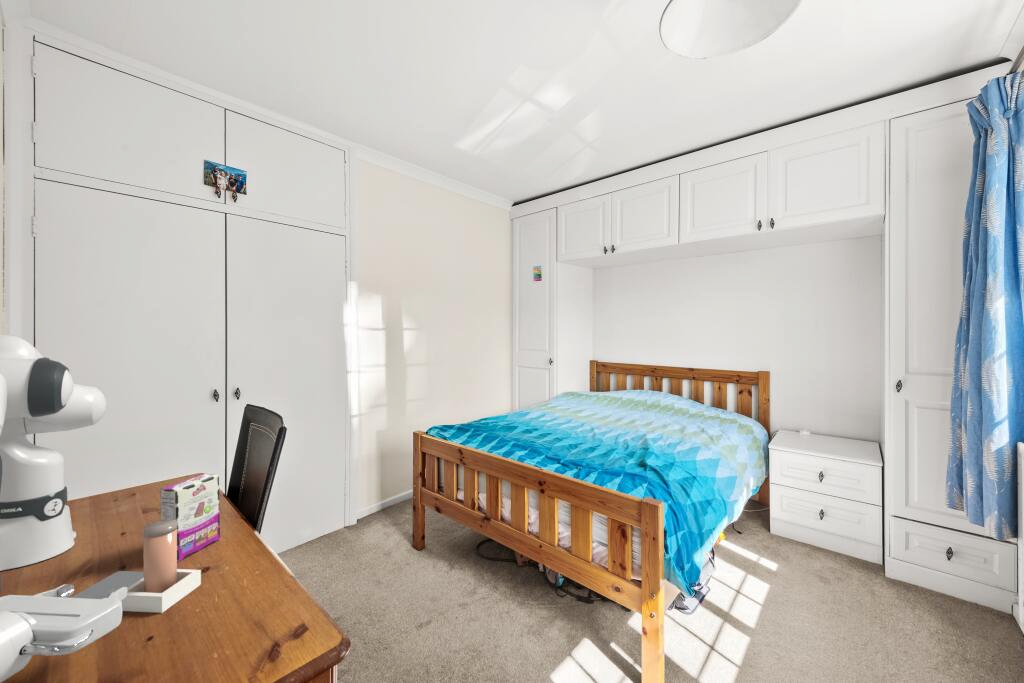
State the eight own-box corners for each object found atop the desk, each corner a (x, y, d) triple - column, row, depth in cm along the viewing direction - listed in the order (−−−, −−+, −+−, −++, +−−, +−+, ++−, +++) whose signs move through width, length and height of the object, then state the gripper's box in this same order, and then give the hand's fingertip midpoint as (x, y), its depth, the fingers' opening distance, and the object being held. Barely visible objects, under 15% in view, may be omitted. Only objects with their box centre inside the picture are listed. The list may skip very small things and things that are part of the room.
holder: (116, 610, 79) (116, 594, 79) (159, 582, 88) (159, 568, 88) (162, 612, 78) (162, 596, 78) (200, 584, 87) (200, 569, 87)
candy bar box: (204, 537, 108) (204, 472, 107) (220, 539, 107) (220, 474, 106) (159, 560, 97) (159, 488, 96) (177, 562, 96) (177, 490, 95)
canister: (135, 604, 81) (135, 531, 80) (159, 588, 86) (159, 519, 86) (161, 605, 80) (161, 532, 80) (184, 589, 86) (184, 520, 85)
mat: (55, 609, 79) (55, 606, 79) (118, 573, 91) (118, 570, 91) (115, 612, 78) (116, 609, 78) (171, 575, 90) (171, 573, 90)
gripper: (62, 631, 56) (155, 573, 70) (-79, 623, 58) (40, 568, 72) (62, 678, 57) (155, 611, 70) (-79, 669, 58) (40, 605, 72)
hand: (96, 589), depth 71 cm, fingers open, 8 cm apart
